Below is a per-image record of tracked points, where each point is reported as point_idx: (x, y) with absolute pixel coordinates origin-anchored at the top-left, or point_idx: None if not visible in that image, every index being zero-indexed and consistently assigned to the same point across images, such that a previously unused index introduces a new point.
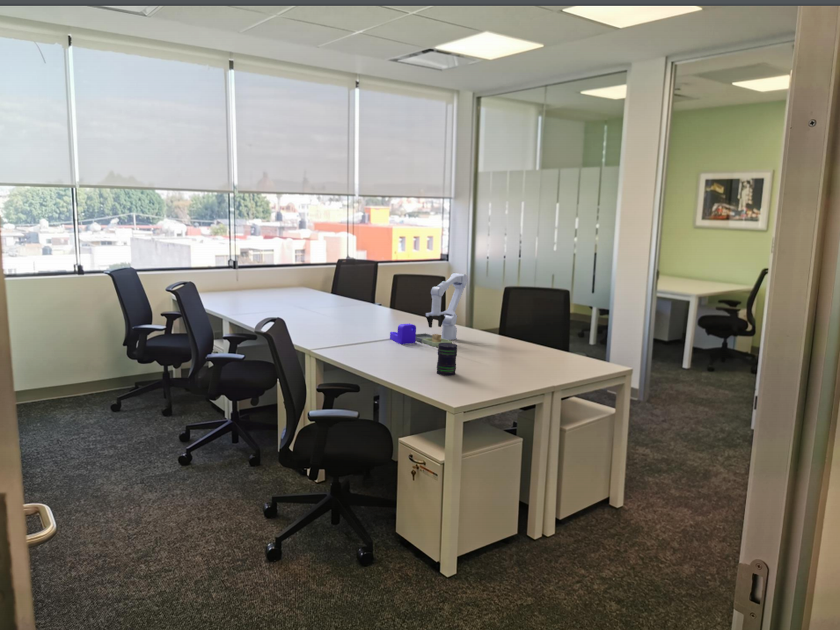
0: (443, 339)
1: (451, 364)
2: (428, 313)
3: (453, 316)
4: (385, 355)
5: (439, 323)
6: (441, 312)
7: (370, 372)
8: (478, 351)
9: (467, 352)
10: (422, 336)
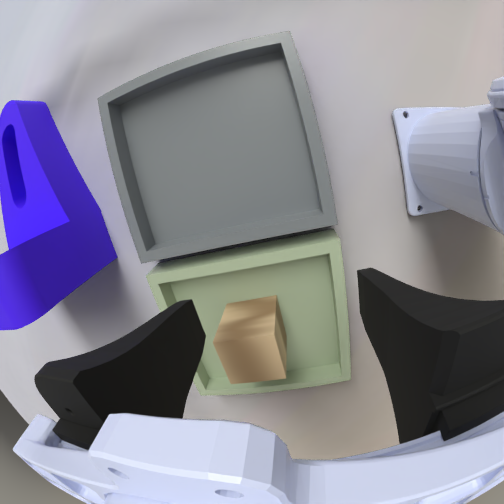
0: (336, 309)
1: None
2: (59, 487)
3: None
4: (34, 389)
5: (374, 316)
6: (470, 495)
7: None
8: (371, 447)
9: (314, 456)
10: (245, 62)
